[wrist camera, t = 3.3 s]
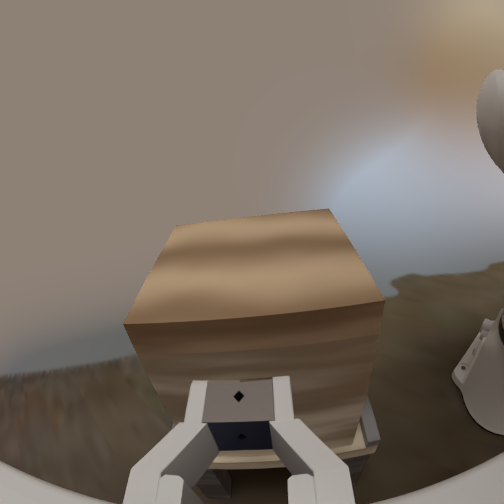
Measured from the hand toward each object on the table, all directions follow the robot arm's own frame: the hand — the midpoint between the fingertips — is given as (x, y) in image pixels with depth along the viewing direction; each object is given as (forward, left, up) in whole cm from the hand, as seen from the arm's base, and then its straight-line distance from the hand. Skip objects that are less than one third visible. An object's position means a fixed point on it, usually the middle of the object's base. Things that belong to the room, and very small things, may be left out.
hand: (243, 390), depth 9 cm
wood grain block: (-7, -7, -14) cm, 18 cm away
